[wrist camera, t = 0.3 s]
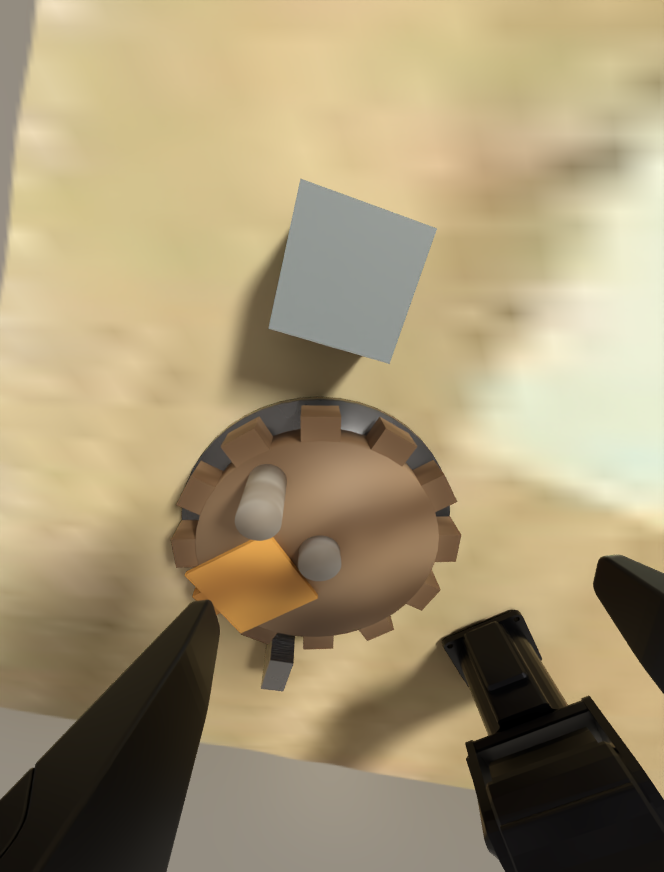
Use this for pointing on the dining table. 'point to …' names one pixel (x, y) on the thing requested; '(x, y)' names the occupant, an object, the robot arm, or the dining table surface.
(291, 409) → the base plate
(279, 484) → the index wheel
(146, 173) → the dining table surface
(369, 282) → the block
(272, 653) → the pointer
